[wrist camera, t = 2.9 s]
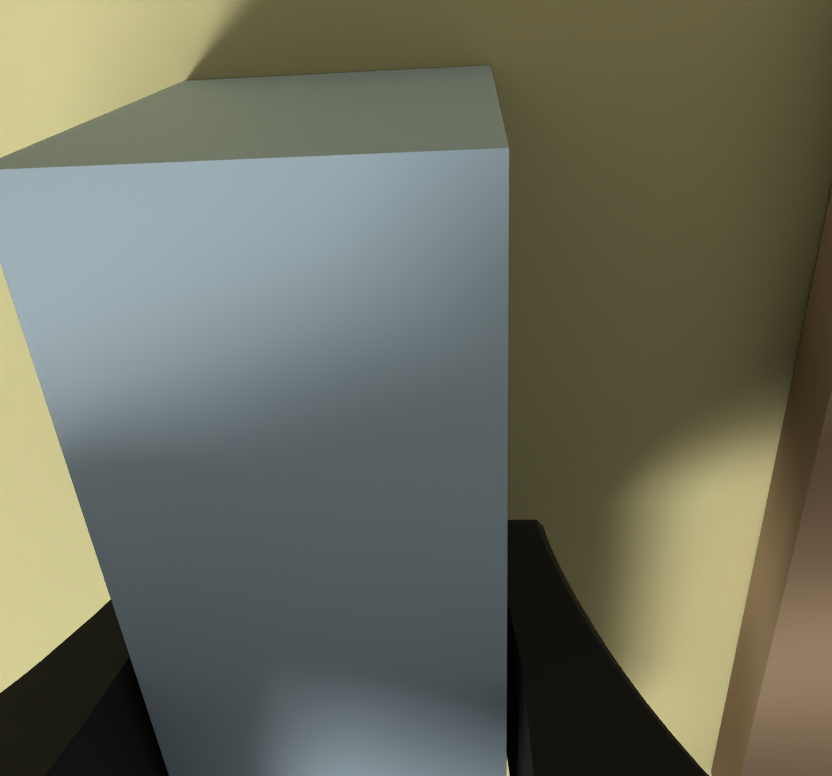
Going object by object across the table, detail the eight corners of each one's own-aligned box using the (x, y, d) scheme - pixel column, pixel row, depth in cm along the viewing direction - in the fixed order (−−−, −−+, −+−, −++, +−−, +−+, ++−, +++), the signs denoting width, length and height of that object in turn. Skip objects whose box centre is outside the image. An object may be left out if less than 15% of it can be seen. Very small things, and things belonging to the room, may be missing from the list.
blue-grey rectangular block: (495, 766, 17) (504, 1055, 12) (311, 762, 17) (256, 1043, 12) (490, 65, 10) (509, 149, 5) (185, 80, 10) (-31, 170, 6)
